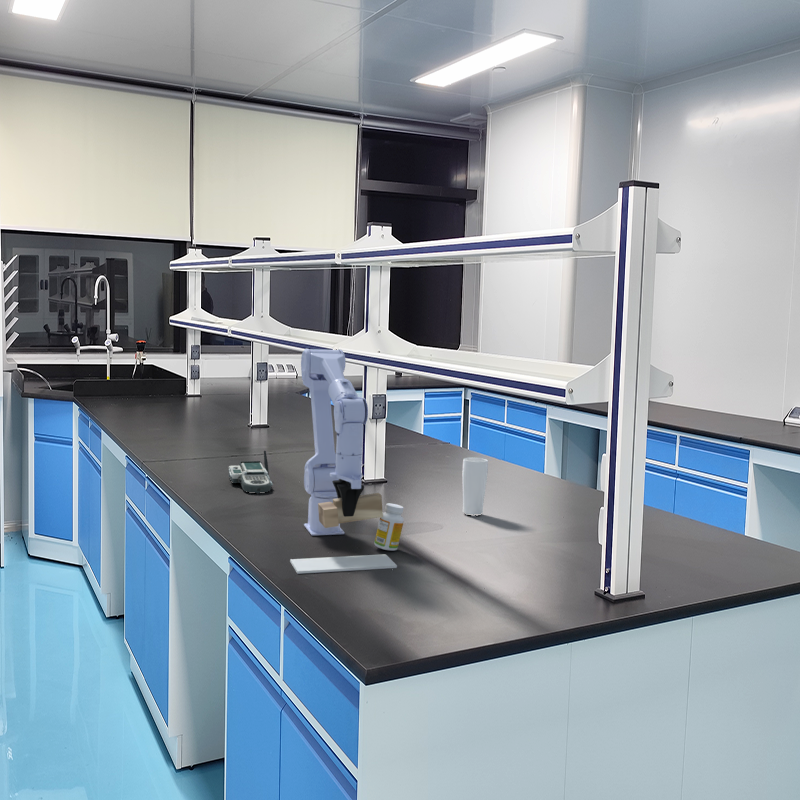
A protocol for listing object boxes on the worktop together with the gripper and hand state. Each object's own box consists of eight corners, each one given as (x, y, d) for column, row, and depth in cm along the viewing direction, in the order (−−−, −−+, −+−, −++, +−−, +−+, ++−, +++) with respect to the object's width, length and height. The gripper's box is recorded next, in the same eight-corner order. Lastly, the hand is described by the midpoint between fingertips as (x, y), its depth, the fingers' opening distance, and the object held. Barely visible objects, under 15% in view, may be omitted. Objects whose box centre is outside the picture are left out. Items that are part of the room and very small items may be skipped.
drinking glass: (470, 518, 213) (473, 462, 211) (454, 512, 219) (457, 458, 217) (490, 516, 217) (493, 460, 215) (474, 510, 222) (477, 456, 221)
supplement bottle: (396, 547, 185) (406, 505, 184) (397, 552, 179) (407, 510, 179) (373, 542, 184) (383, 500, 184) (373, 547, 179) (383, 505, 178)
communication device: (234, 497, 228) (235, 466, 227) (226, 478, 251) (226, 450, 250) (277, 495, 232) (278, 465, 231) (265, 477, 254) (265, 449, 253)
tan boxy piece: (319, 520, 179) (317, 498, 179) (377, 512, 183) (376, 491, 183) (325, 528, 174) (323, 505, 173) (385, 519, 178) (383, 497, 177)
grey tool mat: (290, 561, 170) (290, 559, 170) (385, 556, 177) (385, 554, 177) (297, 573, 162) (297, 571, 162) (396, 567, 169) (396, 565, 169)
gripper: (323, 447, 182) (321, 507, 184) (339, 459, 168) (336, 523, 170) (354, 447, 184) (351, 506, 186) (371, 459, 171) (369, 522, 172)
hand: (346, 514), depth 178 cm, fingers closed on tan boxy piece, 2 cm apart
